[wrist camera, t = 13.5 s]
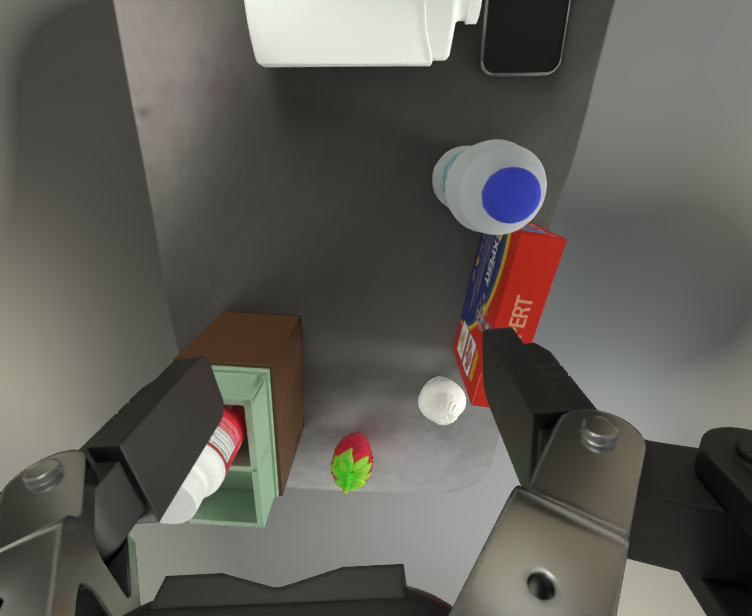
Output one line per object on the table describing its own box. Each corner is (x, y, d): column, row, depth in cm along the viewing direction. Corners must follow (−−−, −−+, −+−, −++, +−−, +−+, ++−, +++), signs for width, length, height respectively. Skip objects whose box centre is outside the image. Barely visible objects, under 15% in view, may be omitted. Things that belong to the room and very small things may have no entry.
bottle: (443, 219, 42) (487, 271, 24) (417, 164, 40) (444, 174, 21) (498, 190, 41) (592, 220, 22) (475, 131, 38) (556, 110, 20)
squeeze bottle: (255, -54, 33) (233, -88, 28) (477, -57, 33) (492, -91, 28) (267, 71, 37) (249, 59, 32) (467, 70, 36) (478, 58, 32)
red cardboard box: (482, 354, 49) (509, 410, 38) (452, 350, 48) (471, 405, 38) (521, 217, 42) (567, 239, 31) (486, 212, 42) (521, 232, 31)
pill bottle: (216, 438, 39) (155, 539, 29) (183, 394, 37) (105, 485, 27) (266, 421, 38) (222, 519, 28) (235, 374, 36) (175, 462, 26)
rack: (223, 311, 47) (144, 386, 32) (300, 315, 47) (258, 393, 32) (236, 422, 54) (177, 527, 39) (303, 426, 54) (271, 533, 39)
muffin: (422, 362, 49) (428, 394, 43) (466, 371, 50) (478, 403, 43) (411, 399, 52) (415, 434, 45) (453, 407, 52) (462, 443, 46)
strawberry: (332, 453, 56) (321, 512, 47) (339, 415, 53) (329, 470, 44) (369, 459, 56) (366, 519, 47) (378, 422, 54) (376, 478, 44)
